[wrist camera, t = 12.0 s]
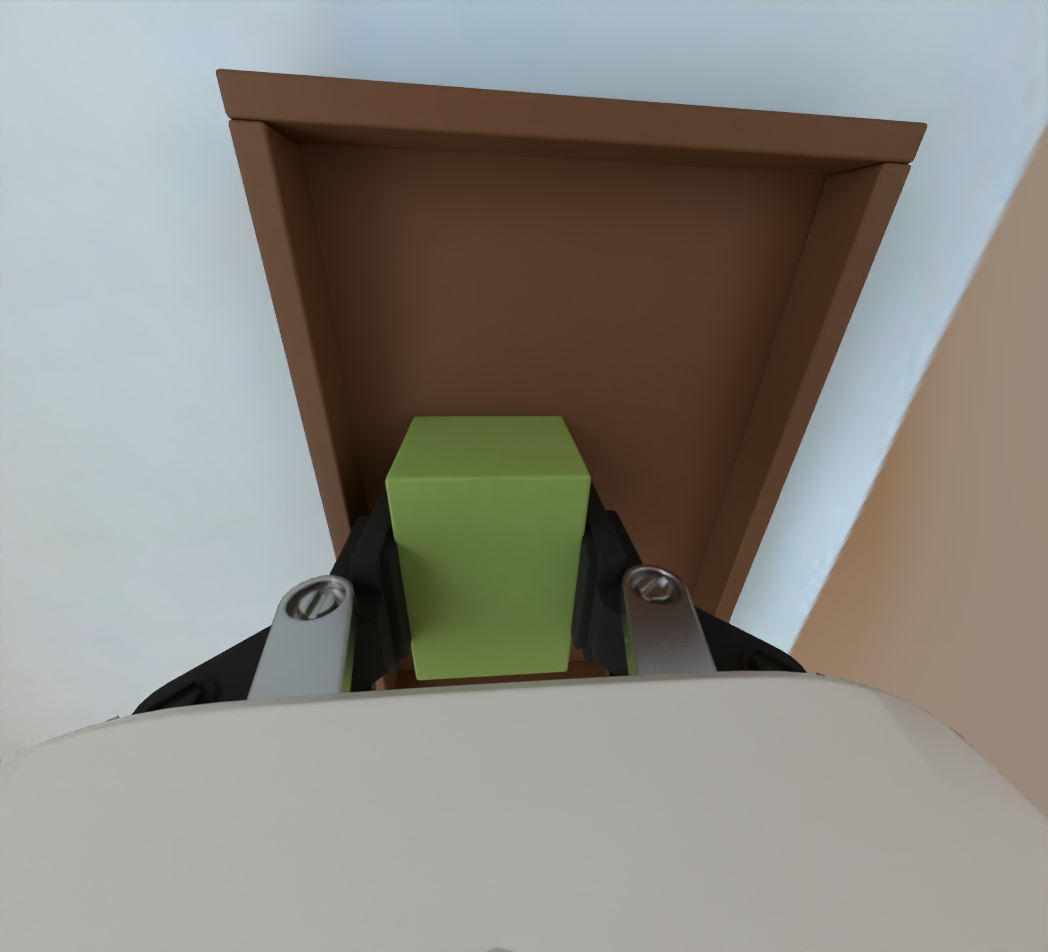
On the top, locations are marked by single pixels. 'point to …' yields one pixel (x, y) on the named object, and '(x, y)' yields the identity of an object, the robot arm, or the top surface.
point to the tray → (565, 290)
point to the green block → (488, 542)
